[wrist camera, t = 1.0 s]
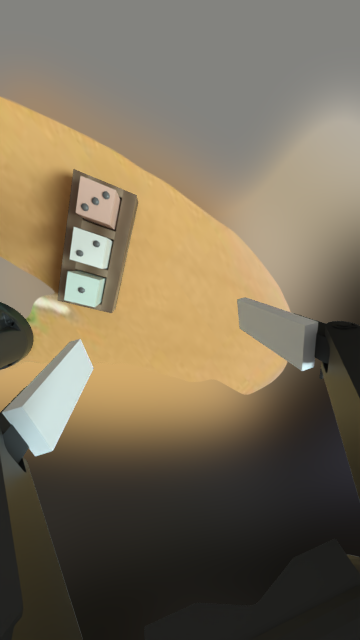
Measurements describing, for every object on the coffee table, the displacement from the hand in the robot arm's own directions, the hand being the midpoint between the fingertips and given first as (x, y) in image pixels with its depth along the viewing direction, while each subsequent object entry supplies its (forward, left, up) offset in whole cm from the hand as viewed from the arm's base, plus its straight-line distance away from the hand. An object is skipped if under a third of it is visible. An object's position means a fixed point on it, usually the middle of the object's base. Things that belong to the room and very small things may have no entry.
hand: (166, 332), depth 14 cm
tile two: (-13, +4, -24) cm, 27 cm away
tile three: (-13, +11, -24) cm, 29 cm away
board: (-13, +4, -26) cm, 30 cm away
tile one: (-13, -3, -24) cm, 27 cm away
